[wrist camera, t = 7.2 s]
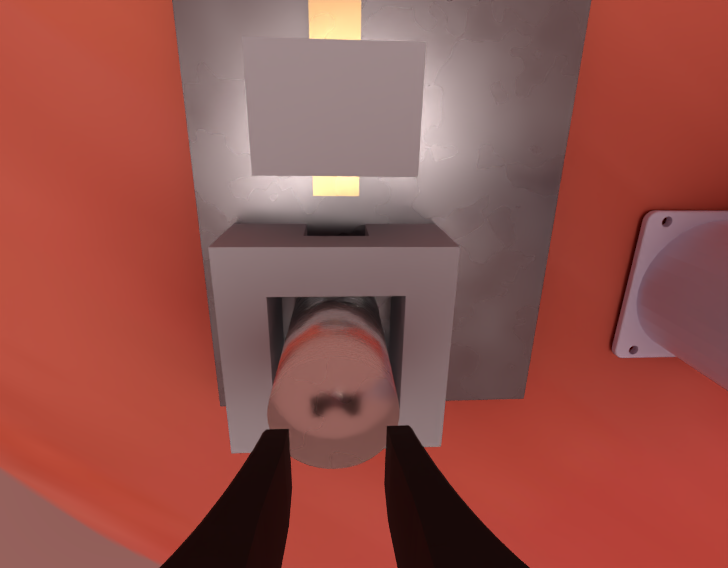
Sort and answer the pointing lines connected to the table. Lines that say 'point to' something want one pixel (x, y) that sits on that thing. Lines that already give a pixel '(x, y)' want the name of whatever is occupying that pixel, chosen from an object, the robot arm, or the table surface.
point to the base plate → (436, 160)
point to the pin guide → (334, 106)
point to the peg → (334, 382)
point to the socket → (331, 279)
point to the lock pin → (342, 21)
